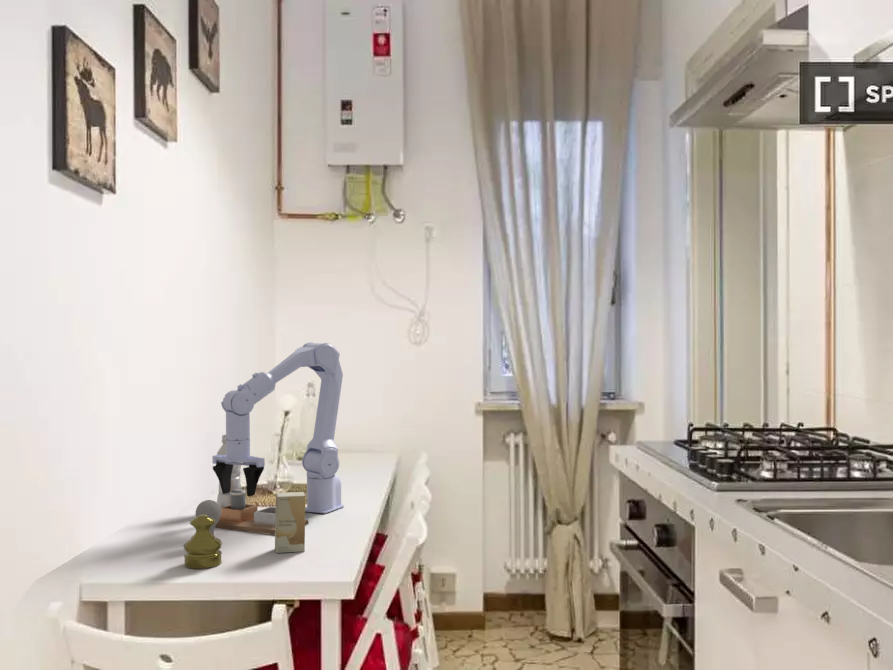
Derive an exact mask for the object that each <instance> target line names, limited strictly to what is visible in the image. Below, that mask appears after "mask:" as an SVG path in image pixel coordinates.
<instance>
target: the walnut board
mask: <svg viewBox="0 0 893 670" xmlns="http://www.w3.org/2000/svg"><path fill="white" fill-rule="evenodd" d="M308 525H309V519H305V526H308ZM215 528H218V529H224V530H225V529H226V530H233V531H242V532H250V533H257V534H266V535H274V536H275V527H270V526H262V525H254V519H251V520H248V521H245V522H242V523H236V522H228V521H218V522H217V524H216V526H215ZM215 528H214V529H215Z"/></svg>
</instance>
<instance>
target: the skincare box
mask: <svg viewBox="0 0 893 670" xmlns="http://www.w3.org/2000/svg"><path fill="white" fill-rule="evenodd" d="M275 507H276V515H275V535H274V551H275V553H276V554H282V553H299V552H303V553H304V552H305V551H306V550H305V546H306V545H305V543H306V539H305V537H306V532H305V531H306V525H305V520H306V512H305V507H306V493H305V492H304V491H298V492H296V491H295V492H294V491H293V492H292V491H290V492H289V491H288V492H276V493H275Z"/></svg>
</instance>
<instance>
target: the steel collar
mask: <svg viewBox="0 0 893 670" xmlns="http://www.w3.org/2000/svg"><path fill="white" fill-rule="evenodd" d="M275 515H276V506H269V507H266V508H263V509H258V510H257V511H256V512H254V525H262V526H270V527H275Z"/></svg>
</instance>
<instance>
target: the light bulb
mask: <svg viewBox="0 0 893 670" xmlns="http://www.w3.org/2000/svg"><path fill="white" fill-rule="evenodd" d="M199 515H207V516H209V517H212V518H214V519H215V523H214V524H213V525H212V526H211V527H210V532H211V533H212V534H213V535H214V536H215V526H216V524H217V522H218V521H219V519H220V516H221V508H220V506H219V504H218V503H217V501H216V500H212V499H206V500H203V501H202V502H200V503H199V504H198V505H197V507H196V509H195V518H196V517H198V516H199Z"/></svg>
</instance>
